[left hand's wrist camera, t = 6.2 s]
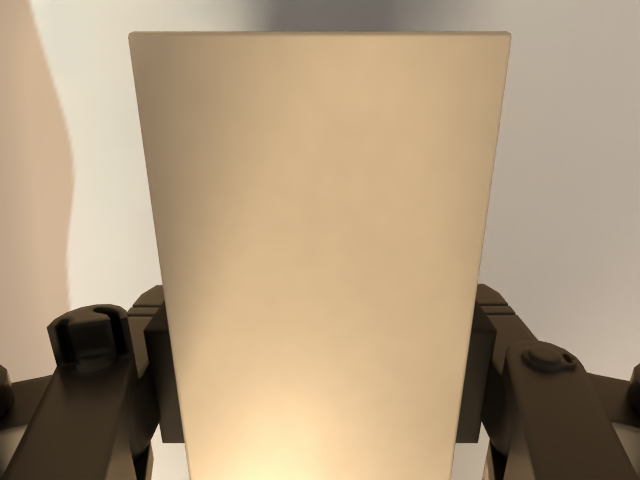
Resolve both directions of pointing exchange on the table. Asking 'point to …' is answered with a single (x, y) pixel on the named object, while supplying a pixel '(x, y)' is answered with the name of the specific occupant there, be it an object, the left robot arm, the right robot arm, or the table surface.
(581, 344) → the table surface
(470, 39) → the beam
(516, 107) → the table surface
